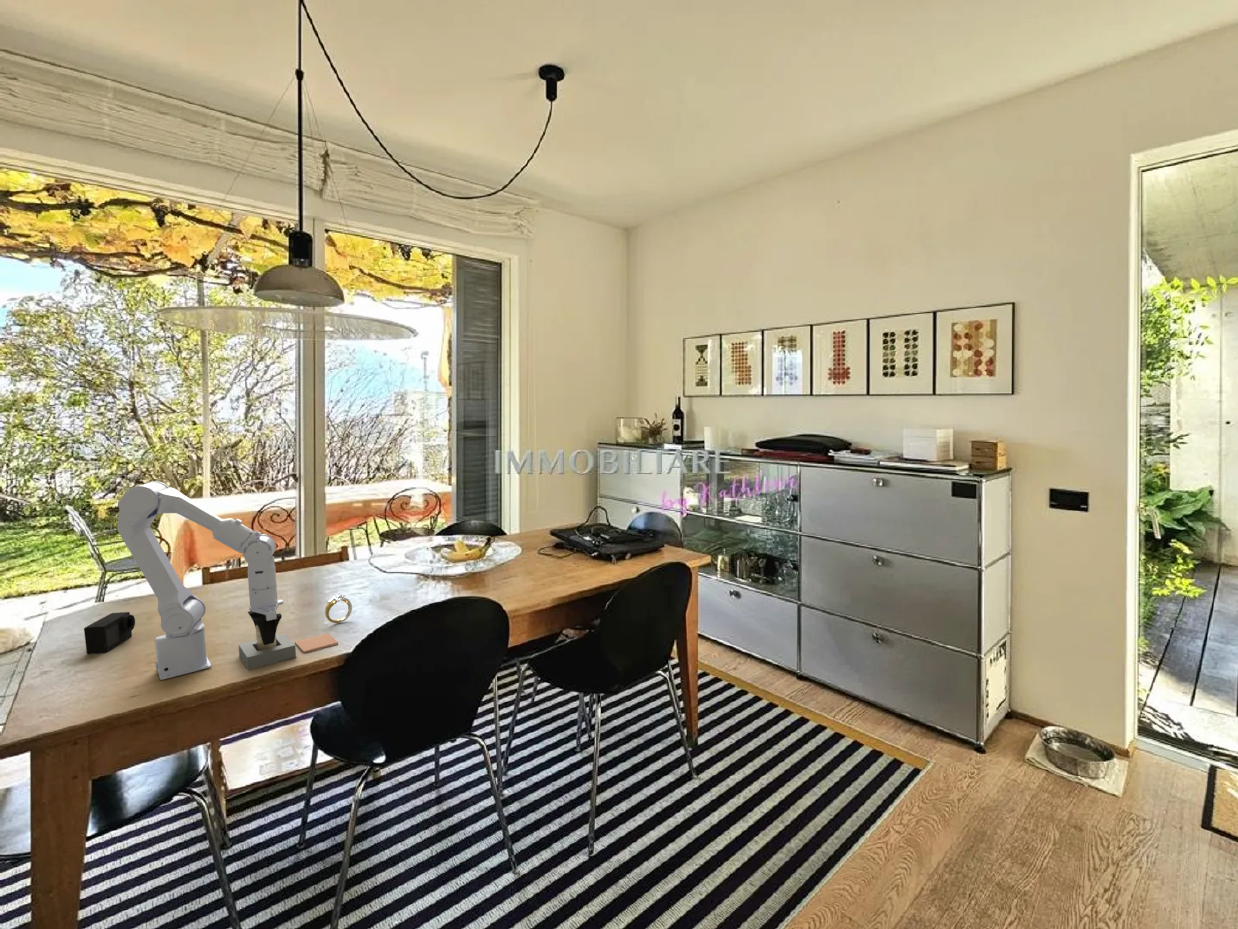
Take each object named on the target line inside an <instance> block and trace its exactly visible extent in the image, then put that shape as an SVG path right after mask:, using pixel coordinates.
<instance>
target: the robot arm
mask: <svg viewBox="0 0 1238 929" xmlns="http://www.w3.org/2000/svg"><path fill="white" fill-rule="evenodd" d="M117 506H118V510H119V511H118V517H117V518H118V519H117V527H116V528H117V532H118V533H119V535H120V537H121V539H122V541H123V542H124V544H125V545H126V547H127V549H128V550H129V552H130V554H131V556H132V558H133V559H134V561H135V563H136V565H137V566H138V568H139V569H140V571H141V573H142V575H143V577H144V579H146V581H147V583H148V584H149V586H150V588H151V590H152V592H153V594H154V595H155V596H156V598H157V612H158V614H159V616H160V627H161V629H162V630H163V632H164V634H162V635H159V636H156V637H154V647H155V648H154V651H155V658H156V661H155V664H154V665H155V670H157V674H158V676H159V679H160V680H161V681H162V680H167V679H170V678H175V677H178V676H183V675H186V674H190V673H193V672H198V671H202V670H206V669H209V668H212V664H211V663H212V662H211V661H210V660H209V658H208V654H207V648H206V647H207V644H206V632H205V624H204V623H203V621H202V618H203V617H204V616H205V614H206V609H207V608H206V605H205V603H204V601H203V600H202V599H200V598H198V597H197V596H196V595H195V594H194V593H193V591H192V590H191V589H190V588H188V587H186V586H185V585H184V584H183V583H182V581H181V579H180V577H179V575H178V574H177V572H176V570H175V568H174V567H173V565H172V562H170V560H169V558H168V556H167V554H166V552H165V551H164V549H163V547H162V545H161V544H160V542H159V540H158V539H157V536H156V535H155V534H154V532H153V530H152V528H151V525H152V523H153V521H154V520H155V518H156V516H157V514H158V515H159V514H177V515H179V516H181V517H184V518H185V519H187V520H189V521H192V523H195V524H197V525H200V526H201V527H204V528H205V529H207V530H210V532H212V537H213V539H215V540H216V541H218V542H219V543H221V544H222V545H225V546H227V547H228V548H230V549H232V550H233V551H235V552H237V553H240V554H242V556H243V558H244V560H245V561H246V562H247V580H248V583H247V584H248V595H249V596H248V598H249V606H248V608H249V609H248V612H247V614H248V615H249V616H250V618H251V620H252V622H253V624H254V627H255V629H256V625H257V626H258V628H259V630H260V634H261V638H262V642H263V644H264V645H267V644H271V643H274V640H275V635H277V630H278V629H277V628H278V626H279V624H280V621H281V620H282V617H283V616H282V613H280V612H279V613H277V610H278V608H279V606H281V605H283V604H284V600H283V599H278V587H277V571H276V570H277V569H276V564H275V556H274V553H275V552H276V548H277V544H276V541H275V539H274V538H272V537H271V536H270V535H268V534H265V533H264V534H262V533H261V532H260V531H259V530H257V531H254V530H253V529H251V528H250V527H248V526H246V525H245V524H242V523H243V520H241V519H239V518H236V519H234V518H232V517H229V518H221V517H219V515H216V514H215V513H214V512H212V511H210V510H208V508H206V507H204V506H202V505H201V504H199V503H198V502H196V501H194V500H193V499H191V498H190V497H188V496H186V495H185V494H184V493H182V492H181V491H179V490H178V489H177V488H174V487H171V486H170V487H169V486H168V485H167V484H166V483H164V482H161V481H158V480H151V481H148V482H147V481H146V483H144V484H140V485H137V486H133V487H130V488H129V489H127V490H126V491H125V492H124V493H123V494H122V496H121V498H120V499H119V500H118V502H117Z"/></svg>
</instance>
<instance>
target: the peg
mask: <svg viewBox="0 0 1238 929" xmlns="http://www.w3.org/2000/svg"><path fill="white" fill-rule="evenodd" d="M255 633H256V634H255V636H256V640H257V651H260V650H264V649H268V648H272V647H276V635H277V634H276V635H275V640H274V643H271V644H267V645H264V644H263V642H262V638H261V634H260V630H259V628H258V626H257V625H256V628H255Z"/></svg>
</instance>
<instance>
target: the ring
mask: <svg viewBox="0 0 1238 929" xmlns="http://www.w3.org/2000/svg"><path fill="white" fill-rule="evenodd" d="M345 596H346V595H345V594H338V595H337V594H335V595H334V596H332V598H331V599H329V600H328V602H327V603H326V606H325V609H324V614H325V617H326V619H327V620H328V621H329V622H331V623H333V624H338V625H339V624H341V623H343V622H345V621H346V620H347V619H348V618H349V617H350V616H351V615H352V612H353V611H352V610H353V604H352V602H351V601H350V600H349V599H348V598H346V597H345ZM340 601H341V602H342V601H343V602H344V603H345V604H346V605H347V608H348V609H347V610H348V611H347V613H346V614H345V616H344V617H342V618H338V619H335V620H334V619H332V618H331V617H330V610H331V609H332V607H333V606H334V605H336V604H337V603H338V602H340Z"/></svg>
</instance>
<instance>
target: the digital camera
mask: <svg viewBox="0 0 1238 929" xmlns="http://www.w3.org/2000/svg"><path fill="white" fill-rule="evenodd" d="M135 626H136V618H135V616H134V615H133V614H130V611H124V612H123V611H122V612H121V611H119V612H112V613H109V614H107V615H106V616H103V617H102V618H100V619H98V620H96V621H95V622H92V623H90V624H89V625H87V626H85V627H84V628H83V632H84V640H85V650H86V655H97V654H107V653H109V652H110V651H111V650H113V649H115V648H117V647H118V646H120V645H122V644H123V643H124V642H126V641H128V640H129V639H130V638H132V637H133V634H132V633H133V632H132V631H133V629H135Z"/></svg>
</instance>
